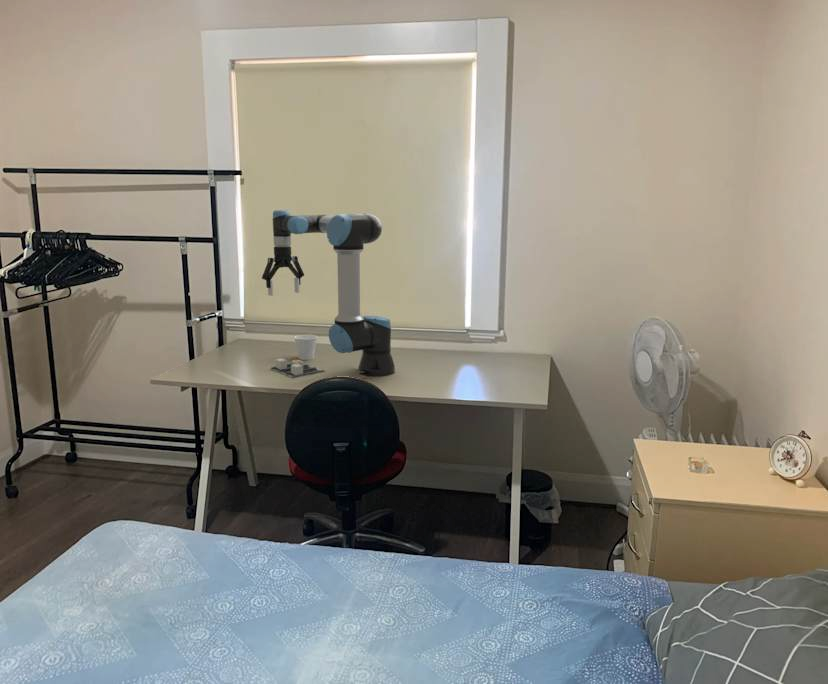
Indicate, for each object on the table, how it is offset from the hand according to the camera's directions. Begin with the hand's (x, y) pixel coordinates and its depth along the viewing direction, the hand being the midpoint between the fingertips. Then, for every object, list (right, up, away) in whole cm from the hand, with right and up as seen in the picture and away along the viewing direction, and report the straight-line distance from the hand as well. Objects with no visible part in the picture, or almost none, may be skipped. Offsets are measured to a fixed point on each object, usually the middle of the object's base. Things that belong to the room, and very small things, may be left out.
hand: (284, 293), depth 309 cm
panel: (+10, -34, -25) cm, 44 cm away
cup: (+11, -30, -5) cm, 32 cm away
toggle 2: (+10, -33, -26) cm, 43 cm away
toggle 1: (+3, -32, -24) cm, 41 cm away
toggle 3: (+11, -35, -33) cm, 49 cm away
